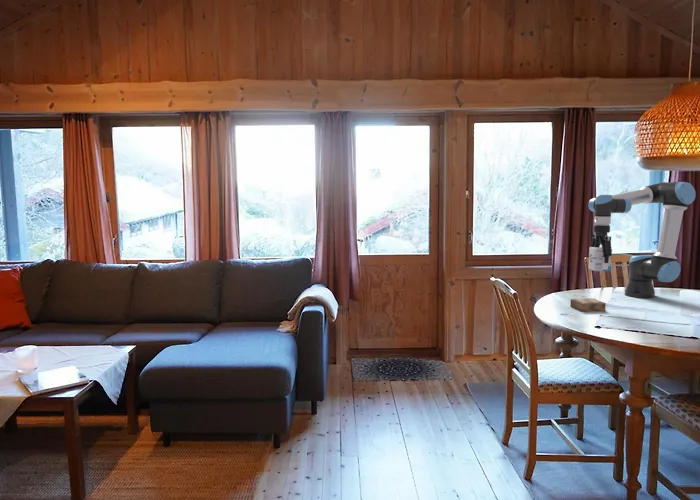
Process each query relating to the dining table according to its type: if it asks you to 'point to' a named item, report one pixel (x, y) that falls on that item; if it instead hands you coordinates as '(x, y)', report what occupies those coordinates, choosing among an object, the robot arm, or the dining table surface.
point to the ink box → (597, 259)
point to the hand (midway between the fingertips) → (599, 267)
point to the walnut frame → (587, 304)
